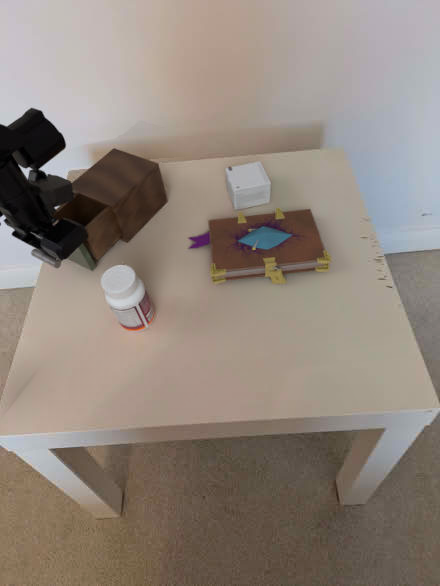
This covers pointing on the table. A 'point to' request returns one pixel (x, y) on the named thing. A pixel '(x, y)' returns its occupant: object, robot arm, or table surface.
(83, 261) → the drawer
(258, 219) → the book
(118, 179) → the cabinet
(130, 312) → the pill bottle
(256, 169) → the small box
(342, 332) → the table surface
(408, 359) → the table surface
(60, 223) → the robot arm
